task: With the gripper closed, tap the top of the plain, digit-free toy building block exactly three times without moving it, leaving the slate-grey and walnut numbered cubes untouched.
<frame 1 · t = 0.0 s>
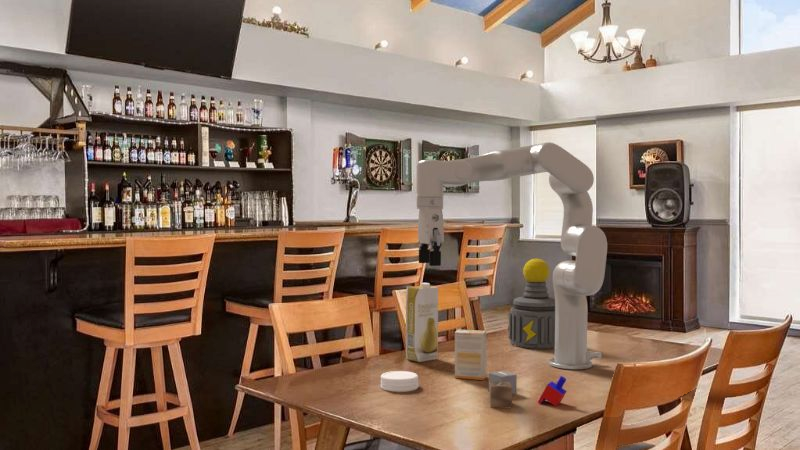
hand: (429, 264, 198), 31 cm above the table, tool pointing down, fingers open, 9 cm apart
white short cylinder: (399, 388, 184), on the table
supplement box: (470, 378, 195), on the table
numeral one cube: (502, 393, 179), on the table
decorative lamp: (535, 344, 244), on the table
juice carton: (421, 360, 218), on the table
toy building block: (552, 404, 169), on the table
numeral seven cube: (500, 405, 168), on the table
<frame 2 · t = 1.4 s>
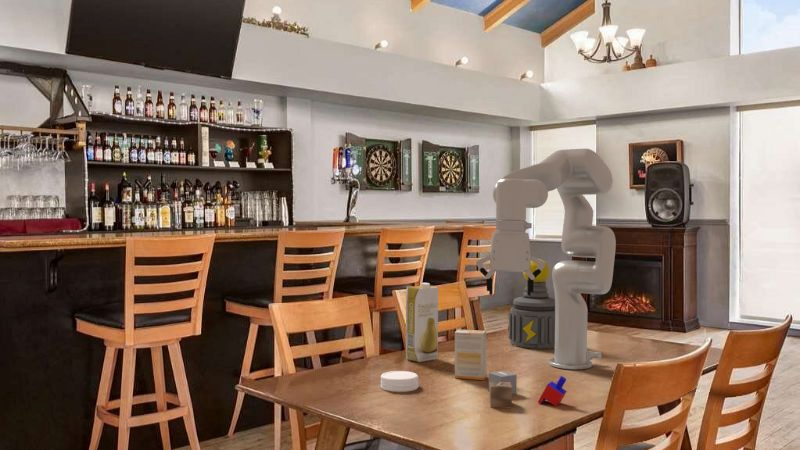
hand: (509, 294, 178), 25 cm above the table, tool pointing down, fingers open, 9 cm apart
nothing on the table moved.
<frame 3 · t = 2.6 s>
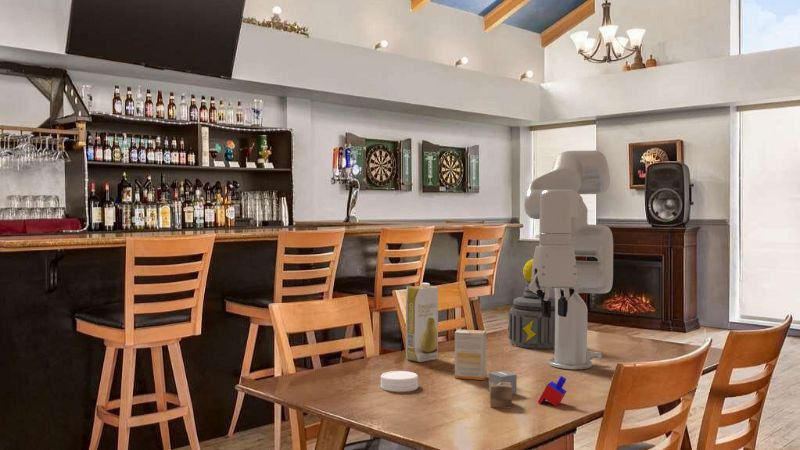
hand: (554, 315, 169), 21 cm above the table, tool pointing down, fingers open, 3 cm apart
nothing on the table moved.
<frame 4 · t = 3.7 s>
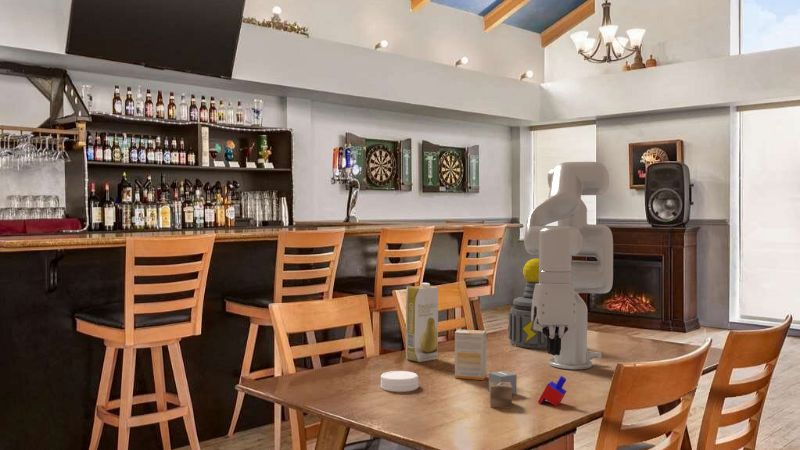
hand: (553, 354, 169), 12 cm above the table, tool pointing down, fingers closed
nothing on the table moved.
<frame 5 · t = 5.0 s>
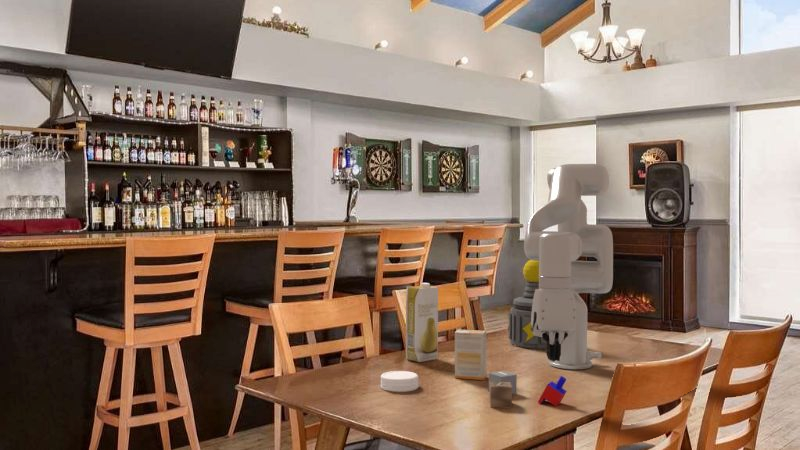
hand: (553, 359, 169), 11 cm above the table, tool pointing down, fingers closed
nothing on the table moved.
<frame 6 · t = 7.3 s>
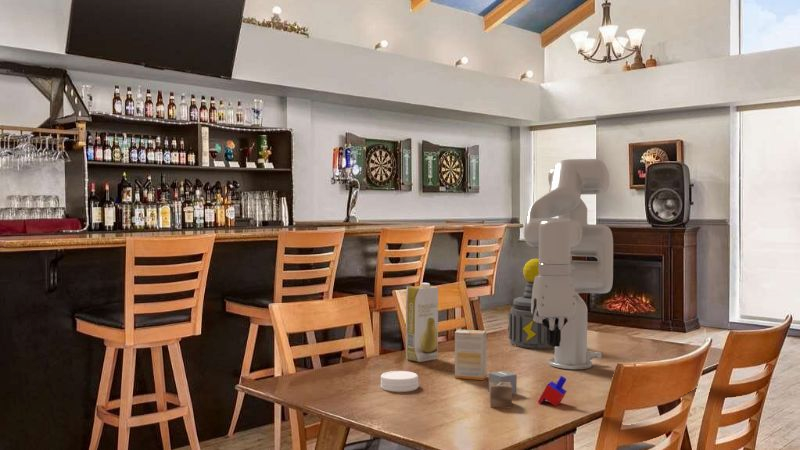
hand: (553, 345, 171), 14 cm above the table, tool pointing down, fingers closed
nothing on the table moved.
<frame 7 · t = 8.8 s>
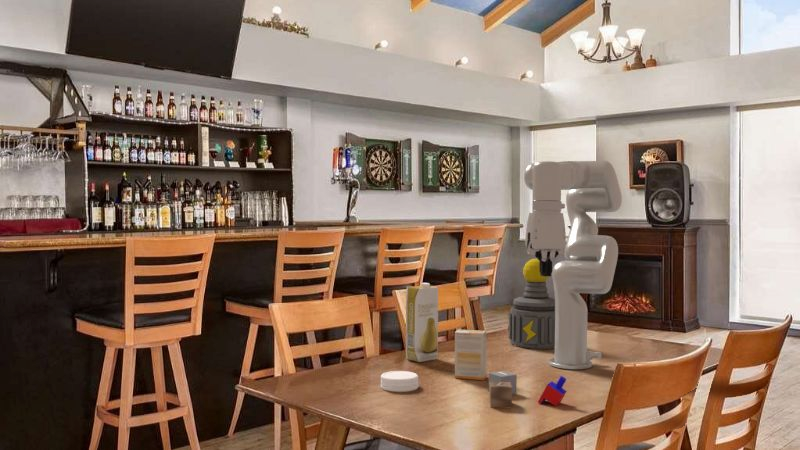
hand: (545, 275, 188), 29 cm above the table, tool pointing down, fingers closed
nothing on the table moved.
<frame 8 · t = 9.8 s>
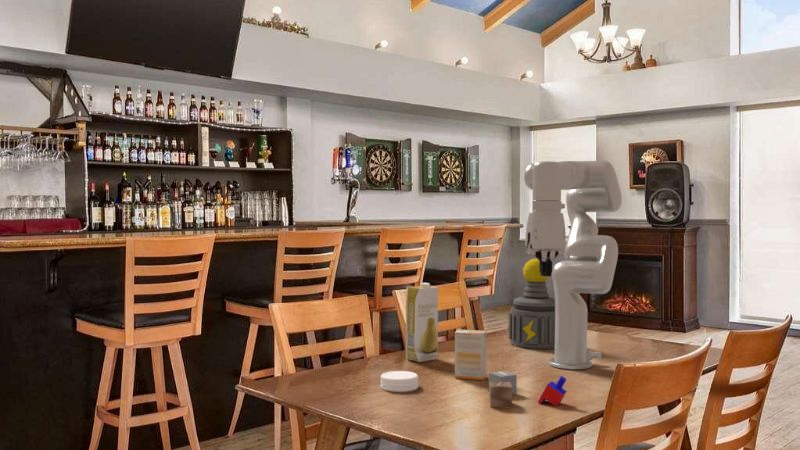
hand: (545, 275, 188), 29 cm above the table, tool pointing down, fingers closed
nothing on the table moved.
at the end: toy building block moved 0.3 cm from its start; toy building block tilted 0°; numeral one cube moved 0.1 cm from its start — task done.
